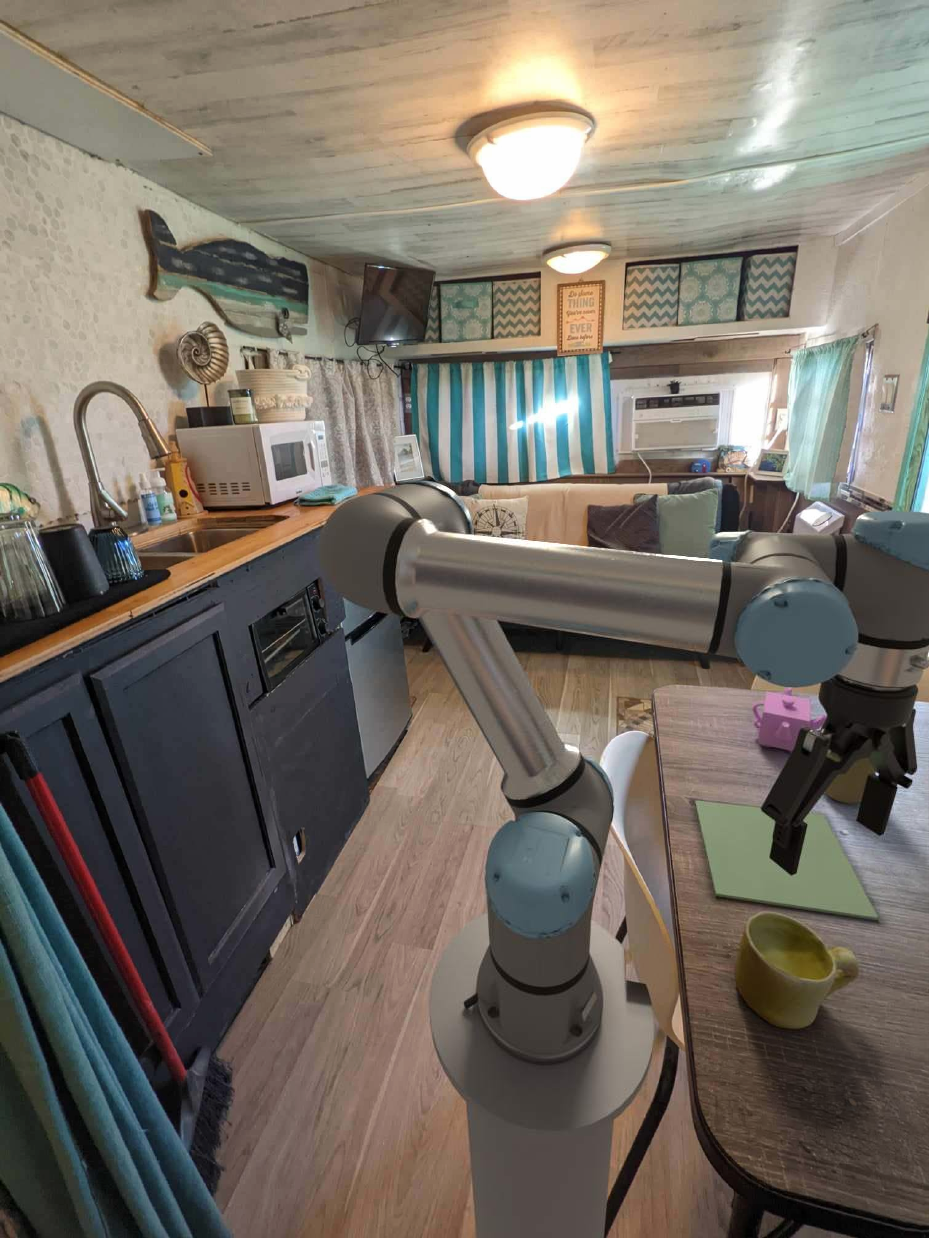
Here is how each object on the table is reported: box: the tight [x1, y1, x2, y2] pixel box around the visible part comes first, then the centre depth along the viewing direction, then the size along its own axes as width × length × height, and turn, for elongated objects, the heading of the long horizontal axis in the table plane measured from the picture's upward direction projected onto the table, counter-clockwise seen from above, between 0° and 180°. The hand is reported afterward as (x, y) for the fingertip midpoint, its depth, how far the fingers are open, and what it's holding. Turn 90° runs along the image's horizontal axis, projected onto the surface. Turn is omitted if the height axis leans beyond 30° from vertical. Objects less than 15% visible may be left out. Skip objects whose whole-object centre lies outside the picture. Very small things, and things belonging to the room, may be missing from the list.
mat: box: [694, 800, 879, 921], centre depth 84 cm, size 20×20×1 cm
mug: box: [733, 910, 860, 1030], centre depth 62 cm, size 12×10×10 cm
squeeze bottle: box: [824, 754, 877, 804], centre depth 92 cm, size 8×8×18 cm
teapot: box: [752, 687, 827, 754], centre depth 108 cm, size 18×13×10 cm
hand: (827, 846), depth 60 cm, fingers open, 13 cm apart
